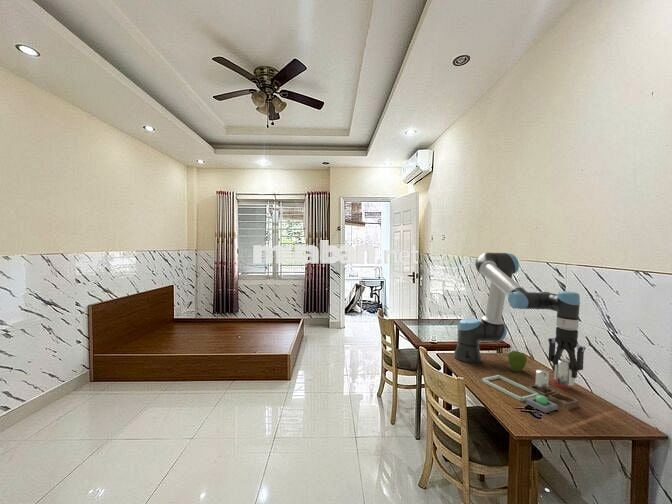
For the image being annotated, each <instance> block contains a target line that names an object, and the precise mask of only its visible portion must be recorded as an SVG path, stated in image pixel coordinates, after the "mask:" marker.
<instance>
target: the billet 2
mask: <svg viewBox="0 0 672 504" xmlns="http://www.w3.org/2000/svg"><path fill="white" fill-rule="evenodd" d="M569 369H571V364H570V359H567V358H562V357H561V358H559V359H558V367H557V383H558V384H560V385H563V386H570V385H568V384H569ZM570 387H571V386H570Z"/></svg>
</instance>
